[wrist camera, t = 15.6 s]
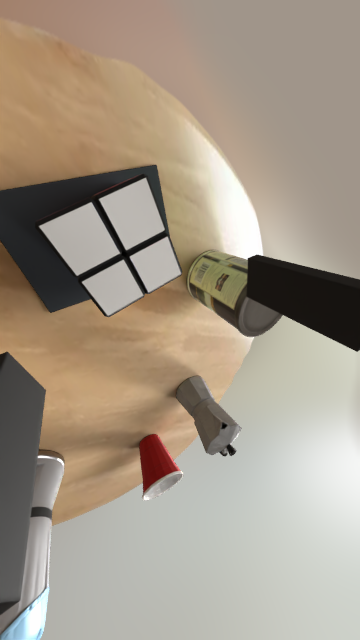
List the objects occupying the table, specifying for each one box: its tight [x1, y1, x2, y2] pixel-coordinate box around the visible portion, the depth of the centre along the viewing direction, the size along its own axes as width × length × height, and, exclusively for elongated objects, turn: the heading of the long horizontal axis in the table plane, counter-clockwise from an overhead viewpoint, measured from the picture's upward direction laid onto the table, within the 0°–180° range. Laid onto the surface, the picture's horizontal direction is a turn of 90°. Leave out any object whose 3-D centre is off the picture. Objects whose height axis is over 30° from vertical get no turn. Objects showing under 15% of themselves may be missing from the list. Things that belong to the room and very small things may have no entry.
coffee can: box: [187, 250, 282, 337], centre depth 31 cm, size 10×10×14 cm
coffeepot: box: [176, 376, 242, 456], centre depth 45 cm, size 15×9×18 cm, turn 9°
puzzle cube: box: [35, 174, 182, 317], centre depth 22 cm, size 10×10×10 cm
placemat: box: [0, 165, 170, 313], centre depth 25 cm, size 20×14×1 cm
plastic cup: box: [139, 434, 183, 500], centre depth 50 cm, size 11×11×12 cm
